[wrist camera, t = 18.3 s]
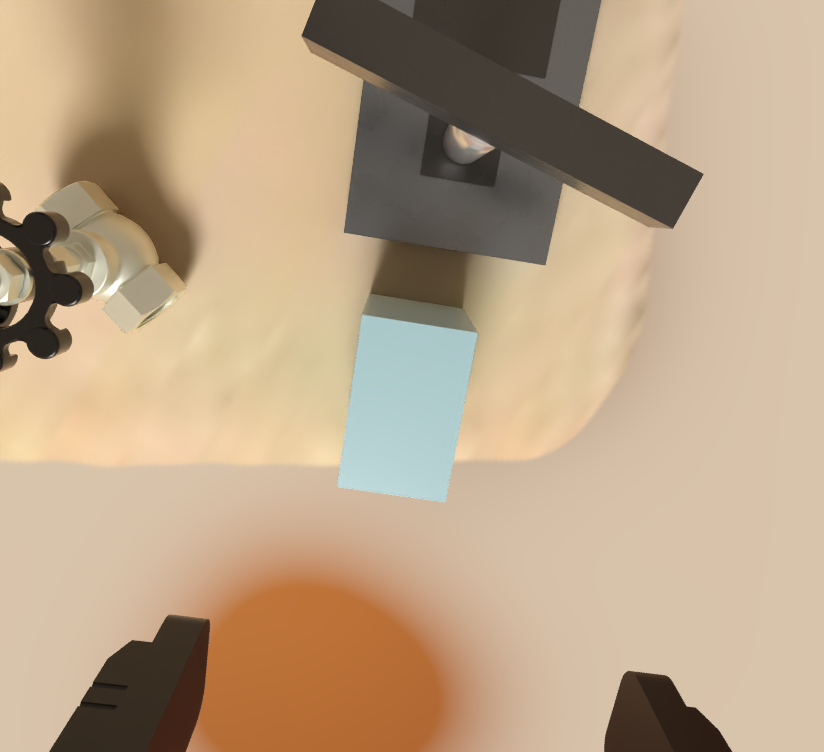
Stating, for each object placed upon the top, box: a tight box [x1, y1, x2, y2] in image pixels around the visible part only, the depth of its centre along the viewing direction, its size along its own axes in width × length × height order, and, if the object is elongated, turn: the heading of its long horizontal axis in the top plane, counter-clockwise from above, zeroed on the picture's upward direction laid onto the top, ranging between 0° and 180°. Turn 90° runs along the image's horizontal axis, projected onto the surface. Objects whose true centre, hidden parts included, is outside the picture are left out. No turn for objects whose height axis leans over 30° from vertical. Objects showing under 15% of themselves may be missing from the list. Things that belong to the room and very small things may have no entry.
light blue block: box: [337, 294, 478, 502], centre depth 32 cm, size 5×8×7 cm, turn 171°
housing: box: [344, 0, 601, 265], centre depth 30 cm, size 10×18×2 cm, turn 171°
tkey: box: [302, 0, 703, 229], centre depth 24 cm, size 2×12×11 cm, turn 64°
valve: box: [0, 181, 187, 372], centre depth 27 cm, size 7×7×12 cm
